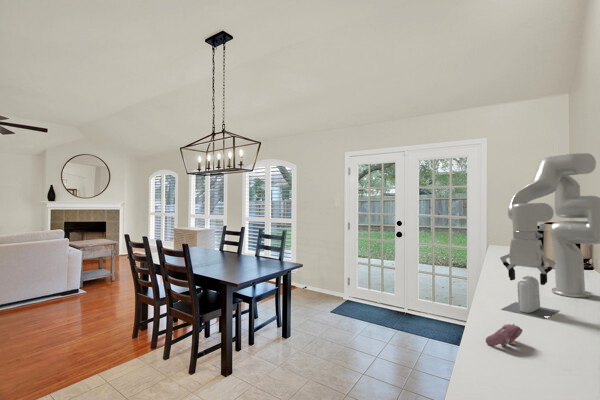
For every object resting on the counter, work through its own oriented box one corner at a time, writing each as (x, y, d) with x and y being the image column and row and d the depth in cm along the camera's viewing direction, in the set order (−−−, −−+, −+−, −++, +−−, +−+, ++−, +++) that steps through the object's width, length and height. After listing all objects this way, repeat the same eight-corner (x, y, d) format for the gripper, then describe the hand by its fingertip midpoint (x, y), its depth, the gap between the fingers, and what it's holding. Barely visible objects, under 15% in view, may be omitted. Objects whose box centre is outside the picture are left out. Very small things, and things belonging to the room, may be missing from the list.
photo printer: (528, 305, 118) (526, 273, 119) (541, 308, 115) (540, 275, 115) (516, 311, 113) (515, 277, 113) (530, 314, 109) (528, 279, 109)
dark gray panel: (515, 302, 123) (515, 301, 123) (559, 311, 112) (559, 310, 112) (500, 309, 115) (500, 309, 115) (546, 320, 104) (546, 319, 104)
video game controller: (498, 355, 84) (509, 336, 81) (482, 342, 87) (492, 323, 85) (517, 346, 88) (528, 328, 86) (502, 334, 92) (512, 316, 89)
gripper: (557, 236, 110) (560, 284, 109) (503, 234, 124) (505, 277, 123) (550, 238, 105) (552, 288, 104) (495, 235, 119) (497, 279, 119)
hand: (527, 282), depth 114 cm, fingers open, 9 cm apart
